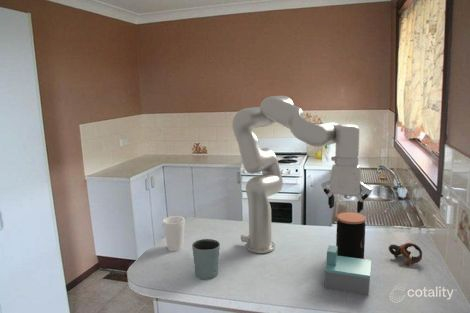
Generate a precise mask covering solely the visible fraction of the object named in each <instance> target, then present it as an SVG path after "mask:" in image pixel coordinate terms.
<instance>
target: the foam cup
mask: <svg viewBox="0 0 470 313" xmlns="http://www.w3.org/2000/svg"><path fill="white" fill-rule="evenodd" d="M162 226H163V229H164V235H165V240H166V245H167V249H168V251H170V252H178V251H179V252H180V251H181V250H182V249H183V248H184V239H185V238H184V237H185V226H186V219H185V217H184V216H182V215H174V216H173V215H172V216H167V217H165V218H163V219H162Z"/></svg>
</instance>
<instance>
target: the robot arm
mask: <svg viewBox="0 0 470 313" xmlns="http://www.w3.org/2000/svg"><path fill="white" fill-rule="evenodd" d="M275 123H277V124H280V125H282V126H283V127H286V128H288V129H289V131H290V132H291V134H292V135H293V136H294V137H295V139H298V140H300V141H301V142H303V143H305V144H307V145H309V146H312V147H316V148H322V147H325V146H329V145H334V144H335V151H334V152H335V155H334V156H331V158H330V161H333V162H334V164H332V166H331V171H330V172H331V173H330V177H329V180H326V181H324V182H322V183H321V184H320V186H321V188H322V189H323V193H325V195H326V196H327V198H328V199H327V200H328V201H327V202H328V203H327V205H328V206H329V209H333V208H334V207H335V195H341V196H349V197H356V198H357V200H358V201H356V202H357V203H356V204H357V206H356V207H357V208H356V213H358V214H361V212H362V211H363V210H364V202H365V200H366V199H368V197H369V196H370V195H371V193H372V192H373V189H372V188H371V187H370V186H368V185H366V184H364V183H363V177H362V169H361V165H359V149H360V127H359V126H358V125H356V124H342V123H337V122H325V123H324V122H323V123H320V124H316V123H314V122H311V121H309V120H307V119H305V118H304V112H303V109H302V108H300V107H299V106H296V105H295V104H294V102H293V100H292V99H291V98H290V97H288V96H286V95H271V96H267V97H266V98H264V99H262V101H261V103H260V106H253V107H246V108H242V109H241V110H238V111H237V112H236V113H235V114H234V117H233V119H232V130H233V134H234V136H235V137H234V138H235V139H236V142H237V145H238V150H239V153H240V157H241V161H242V166H243V169H244V170H245V171H246V172H247V173H249V174H256V173H257V174H258V173H260V172H261V173H262V174H259V175H256V176H253V177H251V178H250V179H249V180H248V181H247V182H246V184H245V193H246V197H247V202H248V203H247V205H248V231H249V232H248V235H243V234H241V235H240V240H241V243H242V242H243V243H246V244H245V249H246V251H248V252H250V253H254V254H268V253H271V252H273V251H274V250H275V249H276V243H275V242H274V241H273V240H272V208H271V207H272V206H271V203H270V201H269V199H268V197H270V196H273V195H276V194H277V193H279V192H281V190H282V189H283V185H284V181H283V177H282V173H281V168H280V165H279V160H278V158H277V155H276V153H275V152H274V151H273V150H272V149H271V148H267V147H263V148H261V147H260V143H259V139H258V137H257V135H256V134H255V132H254V131H253V129H256V128H264V127H268V126H271V125H273V124H275ZM328 185H329V187H328ZM363 190H364V191H366V192H365V194H363V193H362V191H363ZM334 194H335V195H334Z"/></svg>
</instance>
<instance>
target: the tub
mask: <svg viewBox="0 0 470 313" xmlns="http://www.w3.org/2000/svg"><path fill="white" fill-rule="evenodd" d="M324 272H325V271H324ZM324 274H325V275H324V289H329V290H334V291H342V292H345V293H346V292H348V293H353V294H359V295H365V296H369V295H370V294H369V293H370V283H371V282H370V281H371V280H370V279H371V278H370V279H368V278H362V277H356V276H349V275H343V274H336V273H330V272H325V273H324Z"/></svg>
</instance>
